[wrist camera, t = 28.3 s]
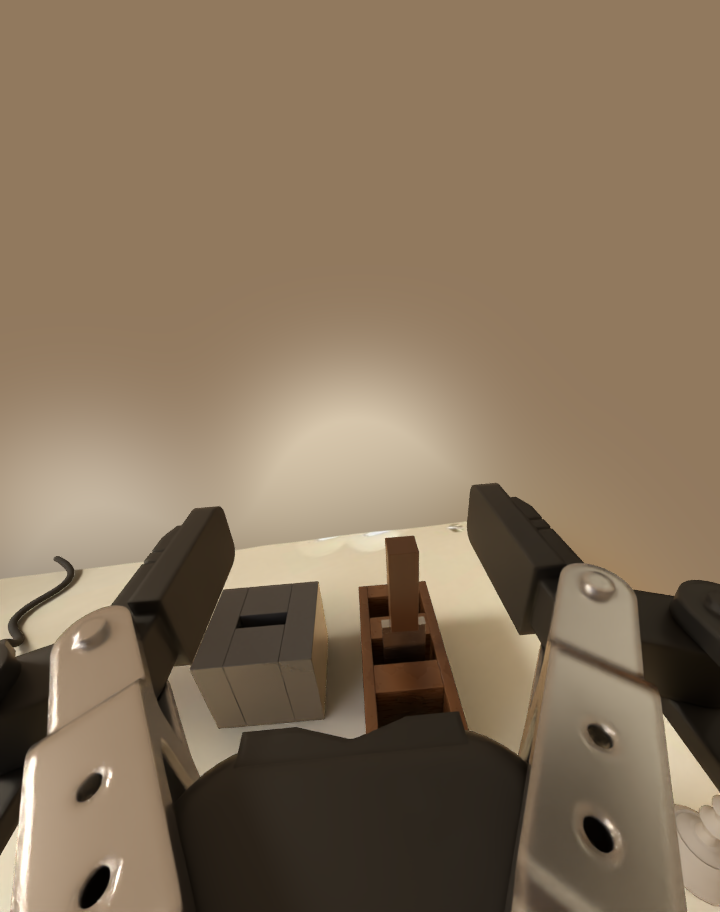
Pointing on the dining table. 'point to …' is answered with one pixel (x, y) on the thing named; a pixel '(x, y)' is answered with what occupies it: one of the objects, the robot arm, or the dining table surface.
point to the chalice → (700, 849)
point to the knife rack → (403, 666)
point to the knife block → (264, 656)
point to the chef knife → (403, 604)
